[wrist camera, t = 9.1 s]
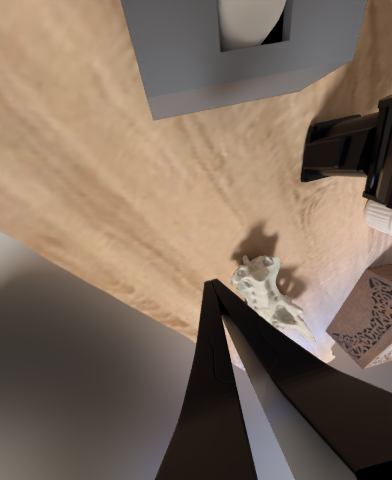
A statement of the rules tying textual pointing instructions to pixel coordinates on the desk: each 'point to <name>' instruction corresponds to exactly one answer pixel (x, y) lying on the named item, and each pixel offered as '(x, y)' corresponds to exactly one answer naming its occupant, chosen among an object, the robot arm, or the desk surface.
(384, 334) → the tissue box cover
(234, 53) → the housing
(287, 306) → the skull
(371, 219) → the ramekin
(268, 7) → the knob
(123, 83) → the desk surface
